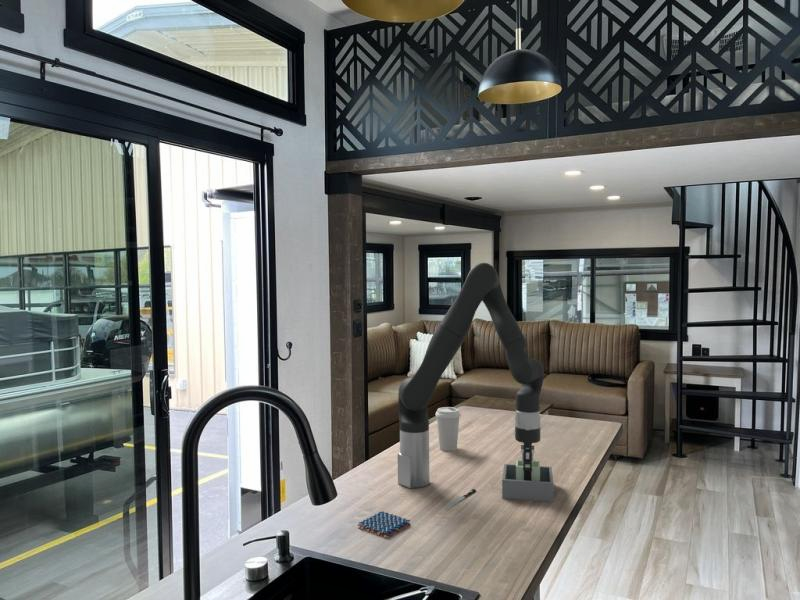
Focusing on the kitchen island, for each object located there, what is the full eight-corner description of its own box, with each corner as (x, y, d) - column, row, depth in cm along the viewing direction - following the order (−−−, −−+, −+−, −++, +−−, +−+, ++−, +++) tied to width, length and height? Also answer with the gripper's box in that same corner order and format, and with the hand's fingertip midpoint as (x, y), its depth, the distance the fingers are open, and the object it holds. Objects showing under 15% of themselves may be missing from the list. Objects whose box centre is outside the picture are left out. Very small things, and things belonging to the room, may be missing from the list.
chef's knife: (434, 511, 163) (443, 513, 161) (434, 507, 163) (443, 509, 161) (468, 490, 178) (476, 491, 176) (467, 486, 178) (476, 488, 176)
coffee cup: (461, 452, 214) (461, 412, 213) (436, 452, 214) (435, 412, 213) (459, 444, 223) (459, 406, 223) (435, 445, 224) (434, 406, 223)
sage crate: (539, 487, 172) (540, 467, 172) (515, 486, 174) (515, 466, 173) (539, 480, 178) (539, 461, 178) (516, 478, 180) (516, 459, 179)
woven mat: (381, 516, 160) (381, 509, 160) (412, 526, 153) (411, 519, 153) (355, 529, 152) (355, 522, 152) (386, 541, 145) (386, 533, 145)
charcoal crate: (553, 502, 167) (553, 483, 167) (502, 498, 170) (502, 479, 170) (551, 484, 181) (551, 466, 181) (504, 480, 185) (504, 463, 184)
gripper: (515, 418, 183) (515, 470, 184) (514, 430, 169) (514, 487, 170) (540, 419, 181) (539, 472, 182) (540, 432, 167) (540, 489, 168)
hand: (527, 479), depth 176 cm, fingers closed on sage crate, 6 cm apart
